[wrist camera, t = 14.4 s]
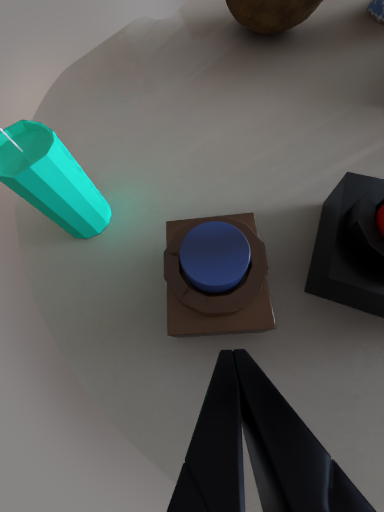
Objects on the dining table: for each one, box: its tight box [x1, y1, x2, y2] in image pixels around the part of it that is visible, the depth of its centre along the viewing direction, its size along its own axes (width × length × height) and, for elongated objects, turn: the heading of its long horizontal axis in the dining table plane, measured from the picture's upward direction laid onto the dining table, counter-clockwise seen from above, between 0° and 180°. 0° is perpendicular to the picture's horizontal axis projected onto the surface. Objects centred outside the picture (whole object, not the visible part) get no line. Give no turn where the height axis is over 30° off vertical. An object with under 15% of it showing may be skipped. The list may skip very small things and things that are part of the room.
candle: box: [0, 120, 112, 239], centre depth 21 cm, size 6×6×12 cm
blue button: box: [179, 221, 250, 293], centre depth 15 cm, size 5×5×2 cm
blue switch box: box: [164, 213, 276, 338], centre depth 19 cm, size 10×8×6 cm
